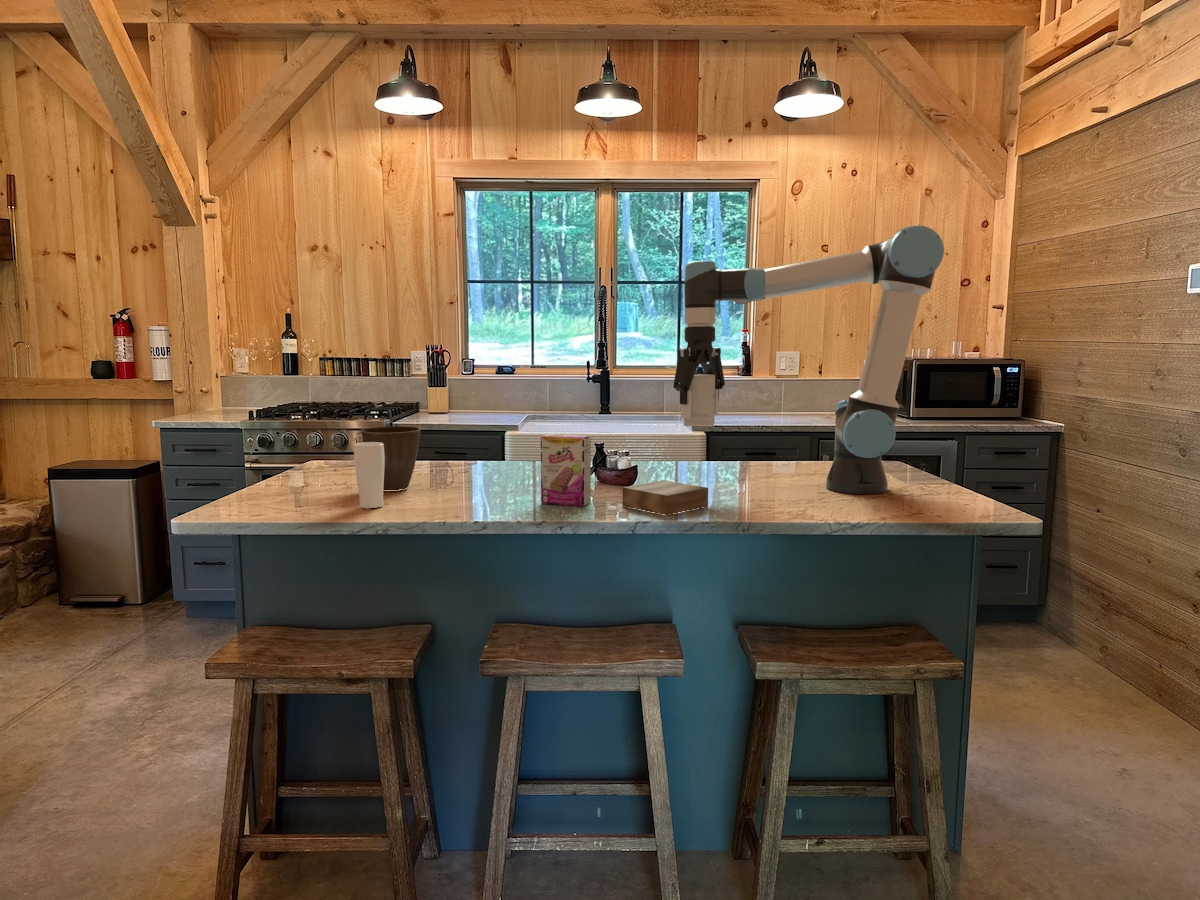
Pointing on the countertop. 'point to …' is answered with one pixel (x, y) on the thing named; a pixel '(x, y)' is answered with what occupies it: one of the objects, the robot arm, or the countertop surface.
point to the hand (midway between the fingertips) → (699, 416)
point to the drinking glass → (370, 473)
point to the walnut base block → (665, 497)
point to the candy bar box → (565, 469)
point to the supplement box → (702, 401)
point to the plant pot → (396, 452)
